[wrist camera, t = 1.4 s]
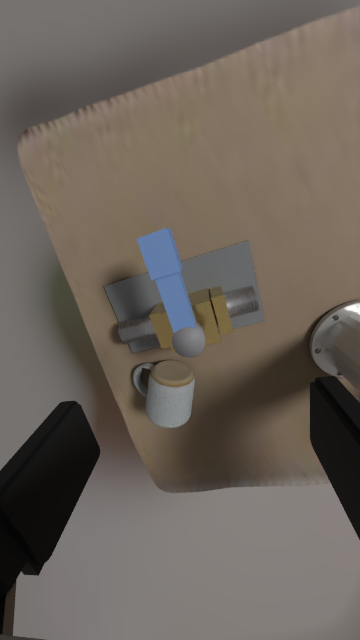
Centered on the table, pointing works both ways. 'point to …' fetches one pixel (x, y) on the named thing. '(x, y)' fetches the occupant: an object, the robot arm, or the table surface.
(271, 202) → the table surface
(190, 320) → the lever
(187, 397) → the ceramic mug
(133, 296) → the mat
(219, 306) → the valve
